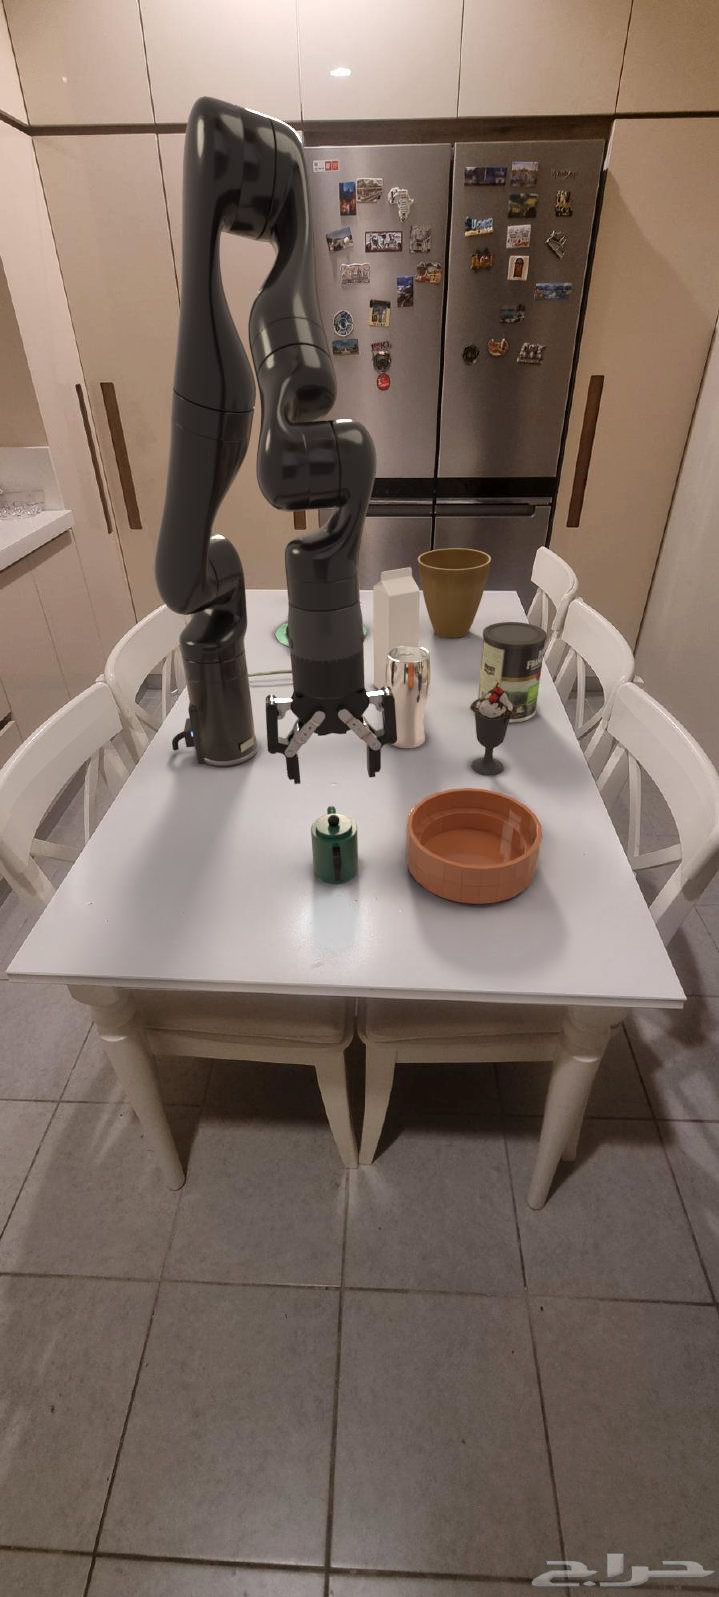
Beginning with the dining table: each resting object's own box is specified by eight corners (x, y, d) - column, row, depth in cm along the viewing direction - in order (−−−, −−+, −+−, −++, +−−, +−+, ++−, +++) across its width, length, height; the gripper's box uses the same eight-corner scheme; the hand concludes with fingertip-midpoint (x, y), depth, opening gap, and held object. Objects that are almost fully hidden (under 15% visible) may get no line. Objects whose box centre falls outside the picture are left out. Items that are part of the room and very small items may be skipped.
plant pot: (447, 614, 161) (450, 543, 152) (498, 631, 152) (505, 557, 143) (401, 632, 153) (403, 557, 144) (453, 651, 144) (458, 573, 134)
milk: (373, 686, 131) (371, 567, 118) (401, 679, 133) (402, 562, 121) (389, 698, 126) (388, 576, 114) (417, 691, 128) (420, 571, 116)
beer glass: (424, 751, 111) (428, 664, 102) (381, 748, 112) (381, 661, 103) (430, 730, 116) (433, 645, 108) (388, 727, 118) (389, 643, 109)
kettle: (362, 891, 84) (360, 837, 79) (315, 895, 84) (311, 841, 79) (353, 840, 92) (352, 788, 88) (311, 844, 92) (307, 792, 87)
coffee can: (544, 704, 123) (555, 627, 115) (523, 728, 116) (533, 649, 108) (490, 691, 128) (497, 617, 120) (466, 714, 121) (472, 636, 113)
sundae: (482, 783, 103) (492, 690, 95) (457, 762, 108) (463, 672, 99) (518, 771, 106) (530, 680, 97) (492, 751, 110) (501, 663, 102)
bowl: (418, 913, 81) (420, 874, 77) (397, 829, 94) (398, 792, 91) (553, 901, 82) (561, 862, 79) (514, 820, 95) (519, 783, 92)
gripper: (390, 625, 74) (390, 755, 84) (256, 634, 73) (271, 765, 82) (401, 652, 68) (400, 789, 77) (255, 662, 67) (272, 801, 76)
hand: (334, 777), depth 80 cm, fingers open, 8 cm apart
